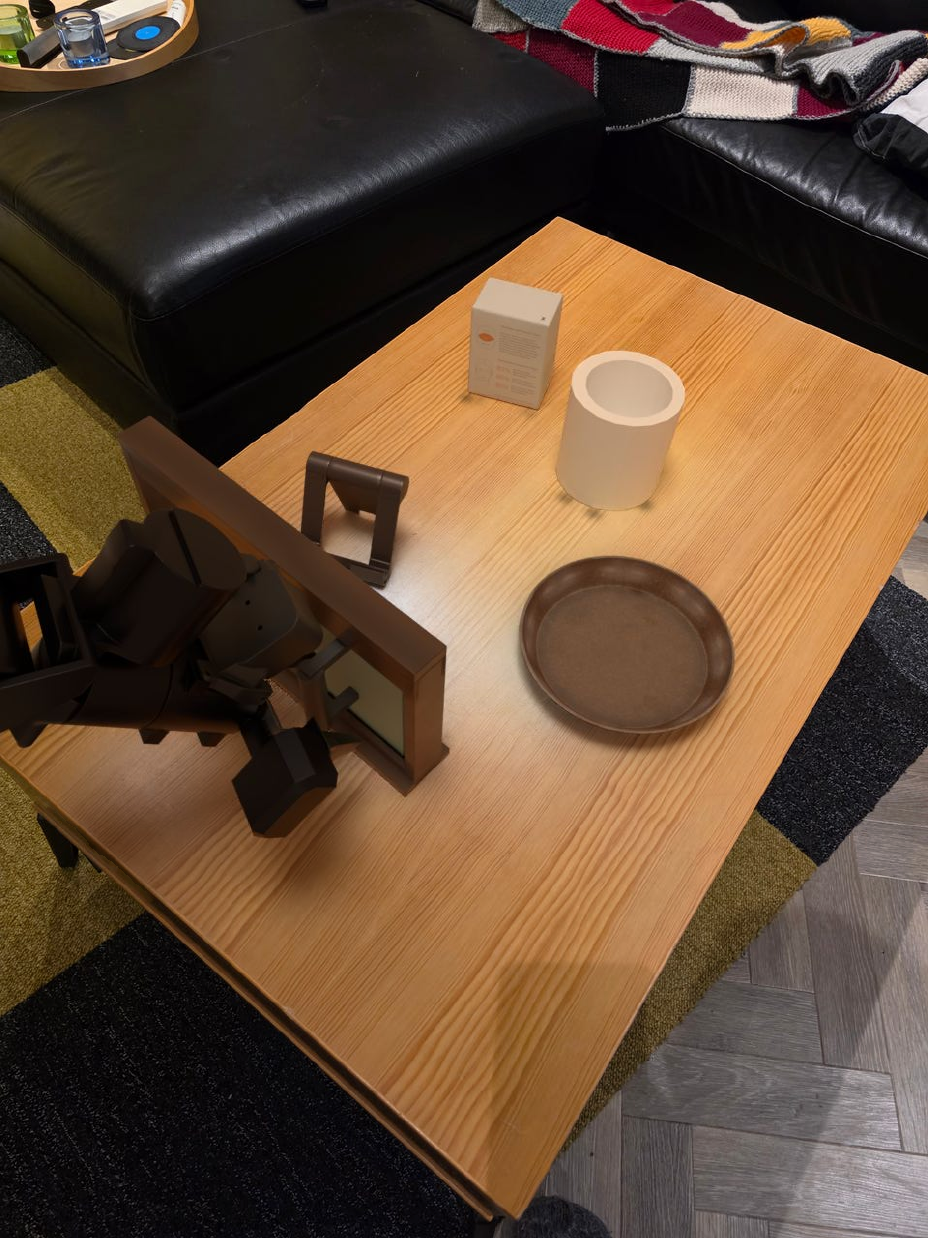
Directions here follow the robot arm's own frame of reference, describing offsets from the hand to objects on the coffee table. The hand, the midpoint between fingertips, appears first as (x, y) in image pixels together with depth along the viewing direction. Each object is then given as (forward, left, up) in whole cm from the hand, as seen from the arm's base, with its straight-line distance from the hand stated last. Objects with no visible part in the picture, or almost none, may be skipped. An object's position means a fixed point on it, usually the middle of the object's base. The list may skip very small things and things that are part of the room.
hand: (335, 700), depth 62 cm
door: (+1, 0, -6) cm, 6 cm away
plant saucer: (+22, -11, -7) cm, 25 cm away
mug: (+40, +3, -7) cm, 41 cm away
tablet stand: (+15, +14, -7) cm, 22 cm away
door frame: (+3, +8, -7) cm, 11 cm away
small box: (+42, +18, -7) cm, 46 cm away
